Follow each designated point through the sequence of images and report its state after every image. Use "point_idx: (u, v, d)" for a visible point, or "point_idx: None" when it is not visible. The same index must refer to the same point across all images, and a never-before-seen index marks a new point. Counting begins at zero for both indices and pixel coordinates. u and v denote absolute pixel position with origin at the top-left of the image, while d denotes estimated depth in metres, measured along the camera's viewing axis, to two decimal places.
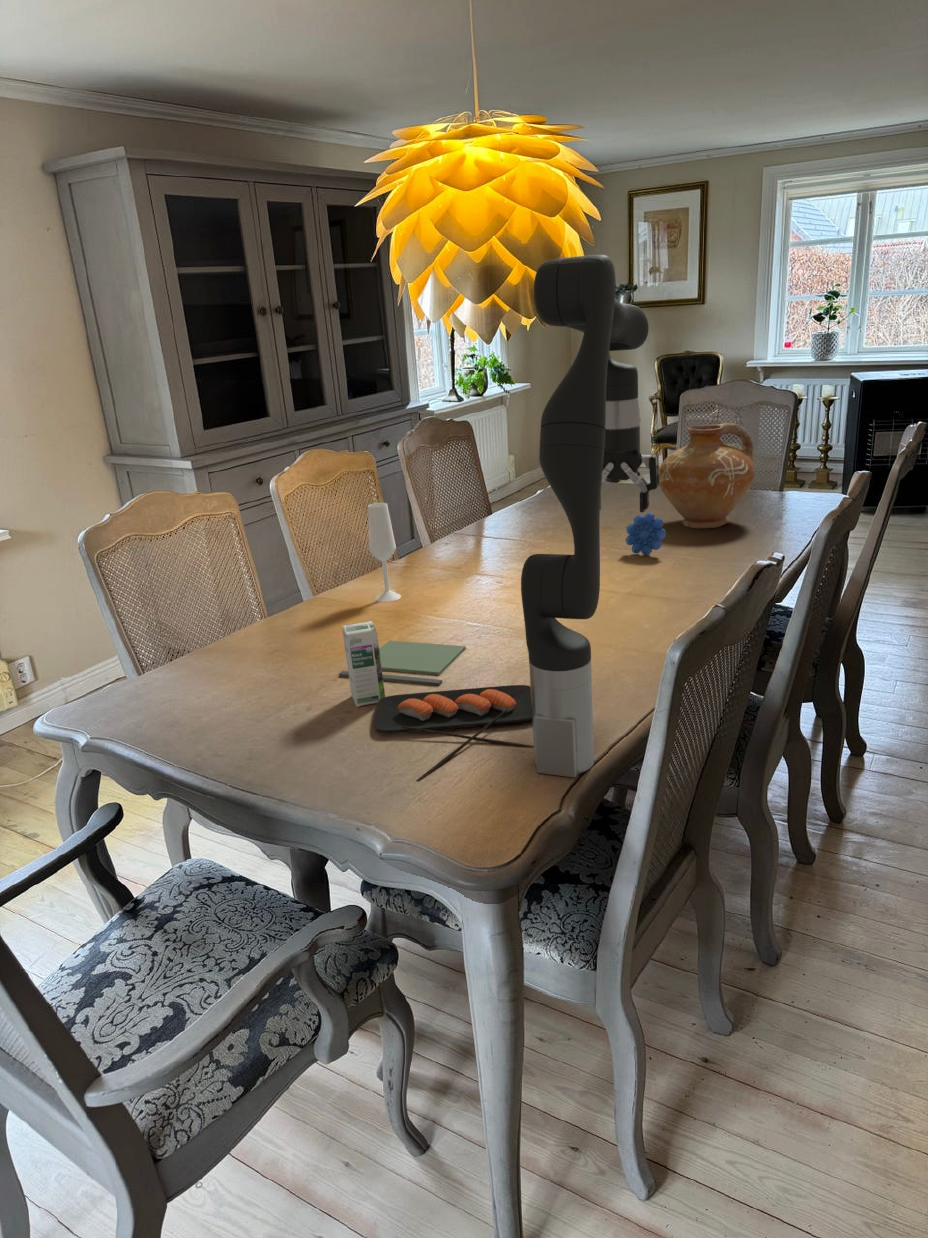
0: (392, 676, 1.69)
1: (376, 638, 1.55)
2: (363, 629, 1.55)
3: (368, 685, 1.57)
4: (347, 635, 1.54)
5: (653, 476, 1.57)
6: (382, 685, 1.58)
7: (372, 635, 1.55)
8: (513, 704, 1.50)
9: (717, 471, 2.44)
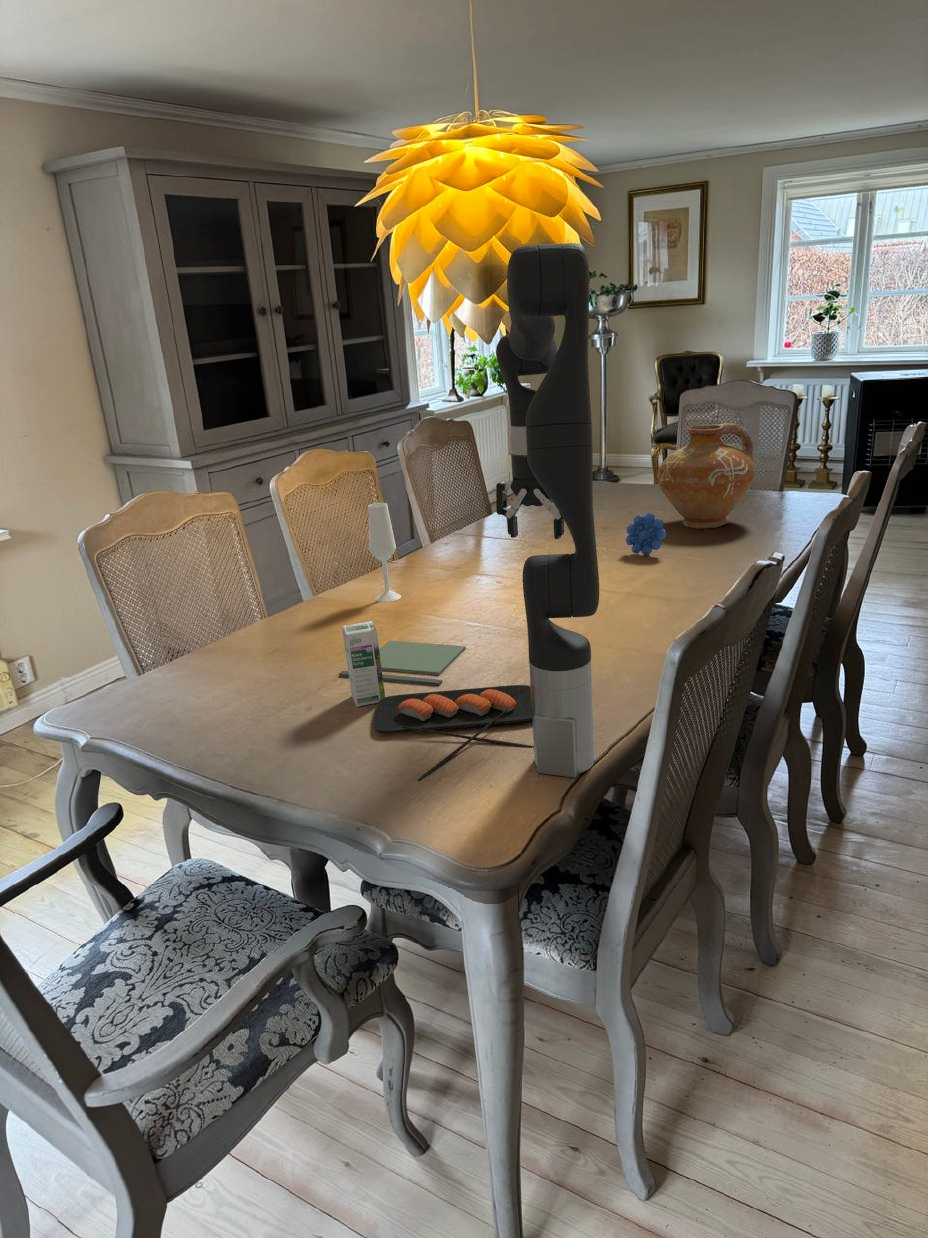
0: (392, 676, 1.69)
1: (376, 638, 1.55)
2: (363, 629, 1.55)
3: (368, 685, 1.57)
4: (347, 635, 1.54)
5: None
6: (382, 685, 1.58)
7: (372, 635, 1.55)
8: (513, 704, 1.50)
9: (717, 471, 2.44)
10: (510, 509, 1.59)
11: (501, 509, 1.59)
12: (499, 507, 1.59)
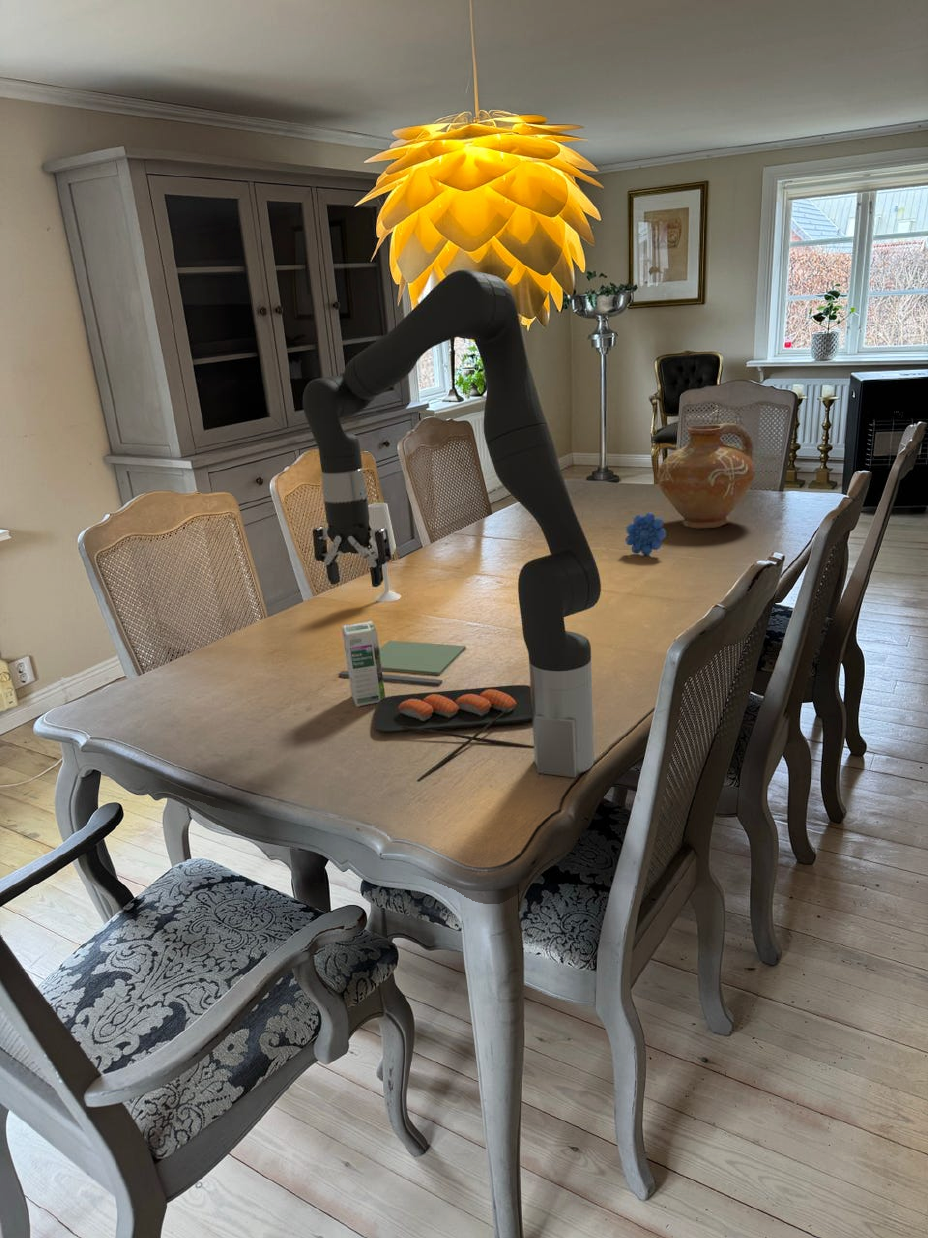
0: (392, 676, 1.69)
1: (376, 638, 1.55)
2: (363, 629, 1.55)
3: (368, 685, 1.57)
4: (347, 635, 1.54)
5: (380, 551, 1.48)
6: (382, 685, 1.58)
7: (372, 635, 1.55)
8: (513, 704, 1.50)
9: (717, 471, 2.44)
10: (327, 556, 1.53)
11: (319, 555, 1.54)
12: (317, 553, 1.54)
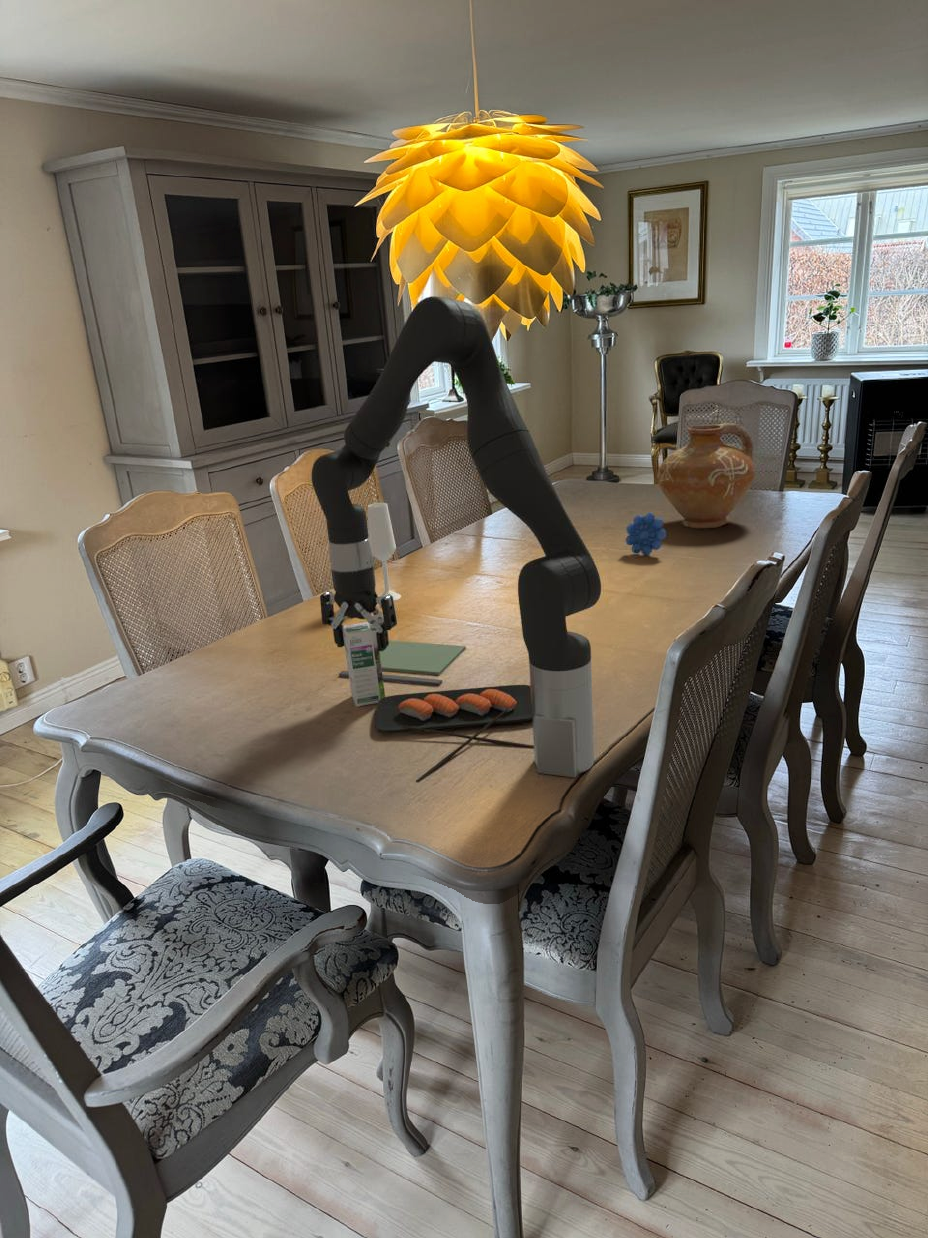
0: (392, 676, 1.69)
1: (376, 638, 1.55)
2: (363, 630, 1.55)
3: (368, 685, 1.57)
4: (347, 635, 1.54)
5: (386, 617, 1.53)
6: (382, 685, 1.58)
7: (372, 635, 1.55)
8: (513, 704, 1.50)
9: (717, 471, 2.44)
10: (334, 621, 1.57)
11: (326, 620, 1.58)
12: (324, 617, 1.58)
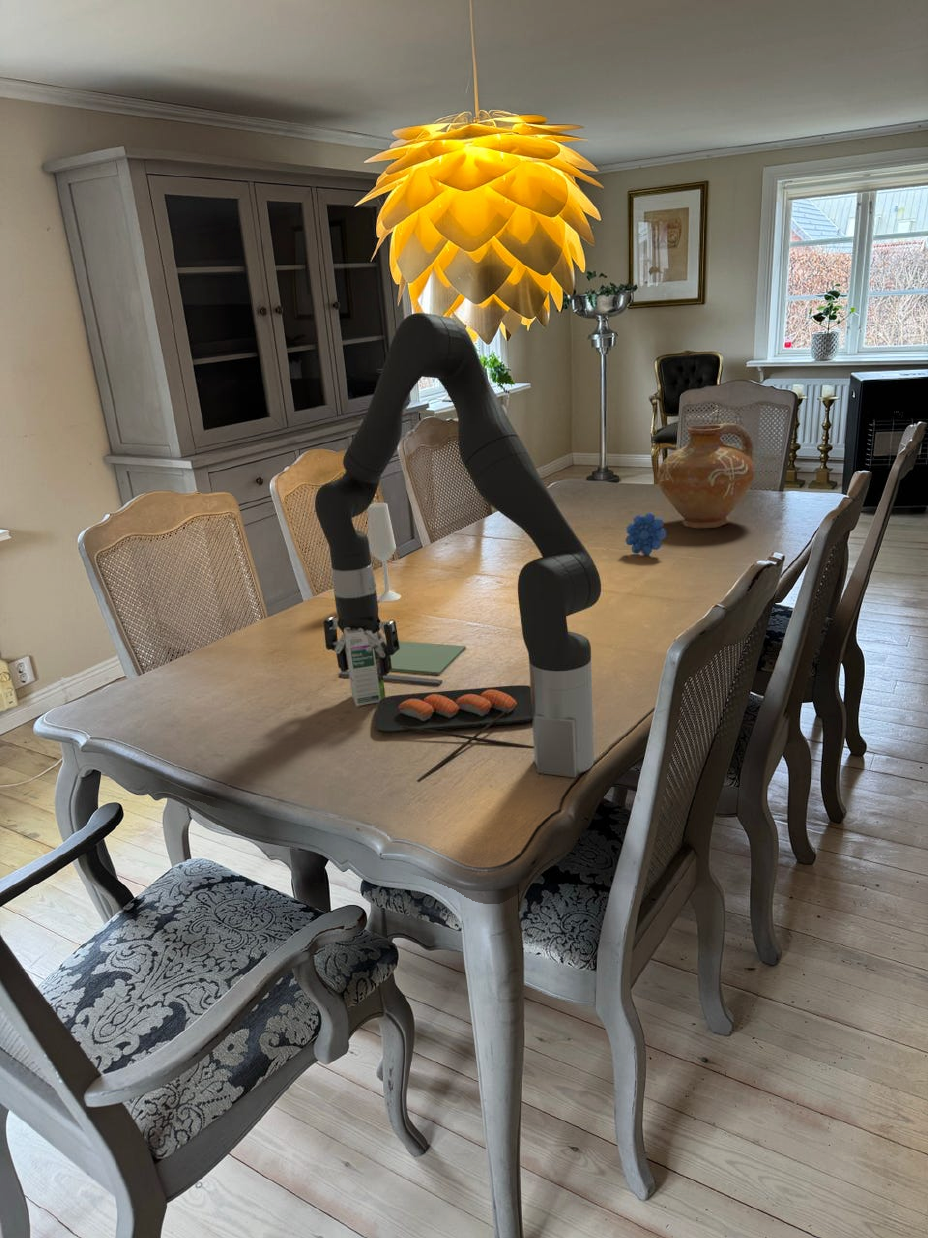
0: (392, 676, 1.69)
1: (376, 638, 1.55)
2: None
3: (368, 685, 1.58)
4: (347, 635, 1.54)
5: (389, 643, 1.54)
6: (382, 685, 1.58)
7: (372, 635, 1.55)
8: (514, 704, 1.50)
9: (717, 471, 2.44)
10: (338, 645, 1.59)
11: (330, 645, 1.59)
12: (328, 642, 1.59)
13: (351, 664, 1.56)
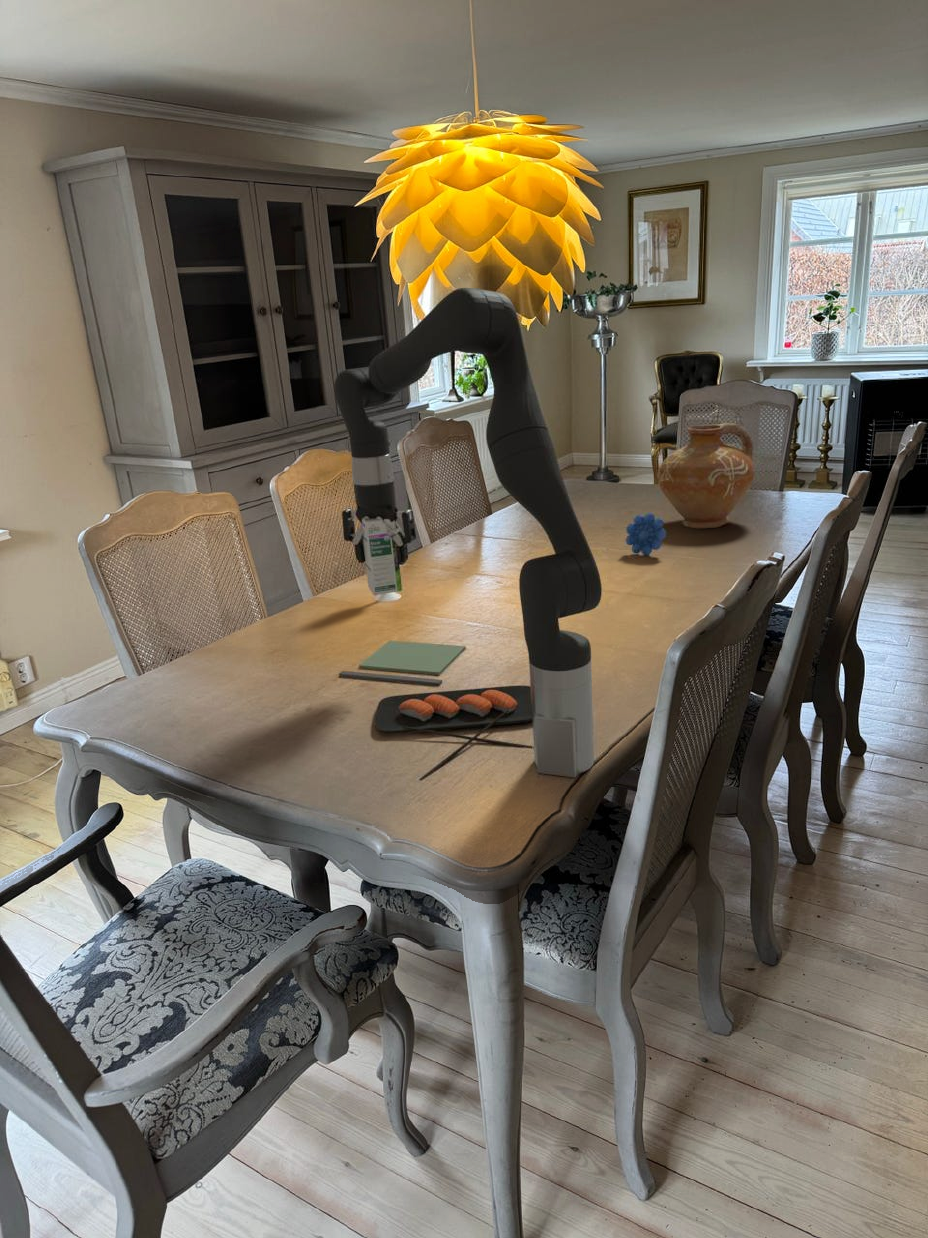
0: (392, 676, 1.69)
1: (394, 526, 1.61)
2: None
3: (385, 573, 1.63)
4: (366, 523, 1.59)
5: (407, 530, 1.59)
6: (399, 574, 1.64)
7: (390, 524, 1.60)
8: (514, 705, 1.50)
9: (717, 471, 2.44)
10: (356, 536, 1.64)
11: (348, 536, 1.64)
12: (346, 534, 1.64)
13: (369, 552, 1.61)
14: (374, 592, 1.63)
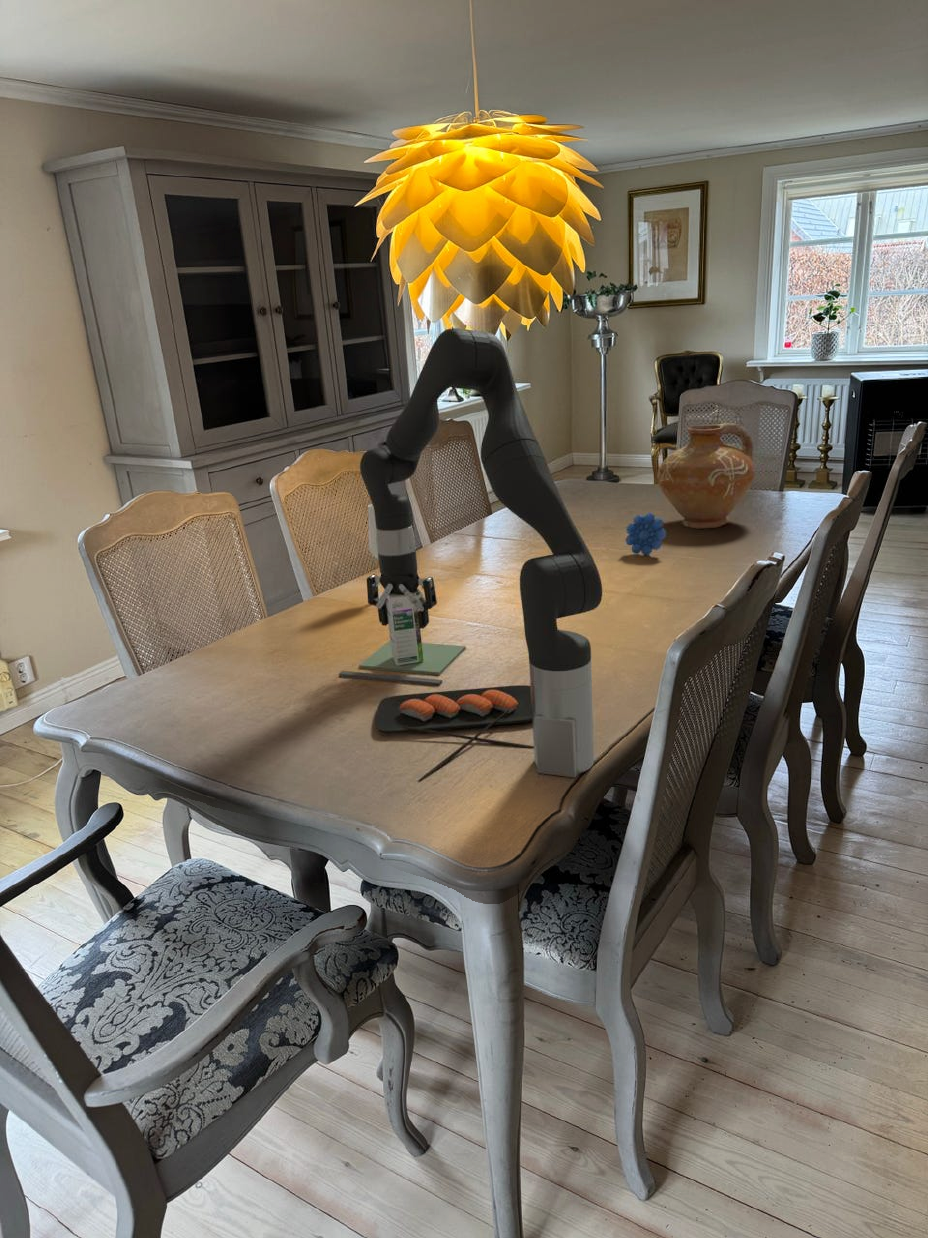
0: (392, 676, 1.69)
1: None
2: (404, 595, 1.70)
3: (407, 646, 1.73)
4: (390, 599, 1.69)
5: (428, 597, 1.69)
6: (421, 646, 1.73)
7: None
8: (515, 704, 1.50)
9: (717, 471, 2.44)
10: (379, 601, 1.73)
11: (372, 600, 1.74)
12: (370, 598, 1.74)
13: (393, 626, 1.71)
14: (397, 663, 1.73)
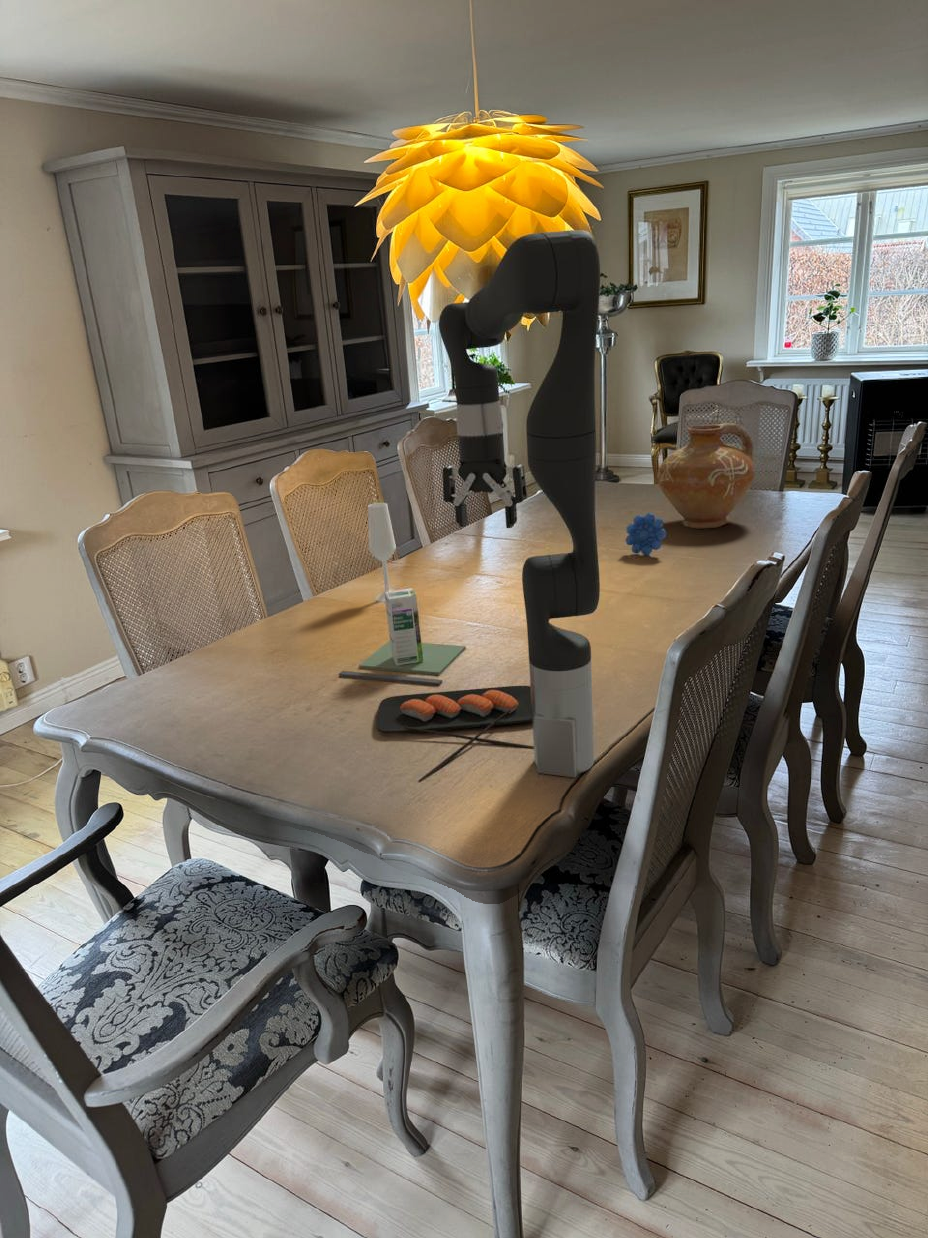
0: (392, 676, 1.69)
1: (416, 603, 1.71)
2: (404, 595, 1.70)
3: (407, 646, 1.73)
4: (389, 600, 1.69)
5: (518, 488, 1.41)
6: (420, 646, 1.73)
7: (412, 600, 1.70)
8: (515, 705, 1.50)
9: (717, 471, 2.44)
10: (458, 496, 1.46)
11: (448, 496, 1.46)
12: (446, 494, 1.46)
13: (392, 626, 1.71)
14: (397, 663, 1.73)
